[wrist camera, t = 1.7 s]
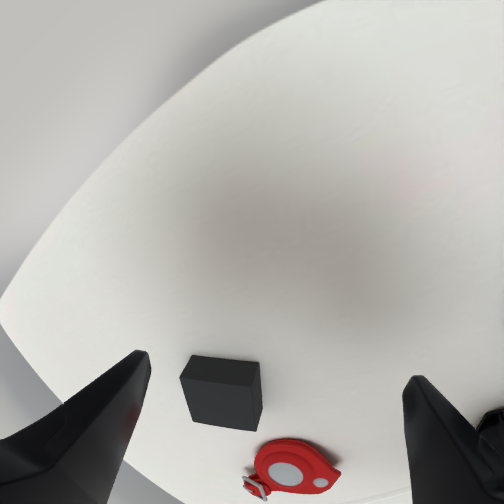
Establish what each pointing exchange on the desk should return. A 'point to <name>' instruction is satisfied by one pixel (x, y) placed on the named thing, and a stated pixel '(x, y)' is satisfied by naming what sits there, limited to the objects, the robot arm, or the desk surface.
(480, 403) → the desk surface
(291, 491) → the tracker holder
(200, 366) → the black block
